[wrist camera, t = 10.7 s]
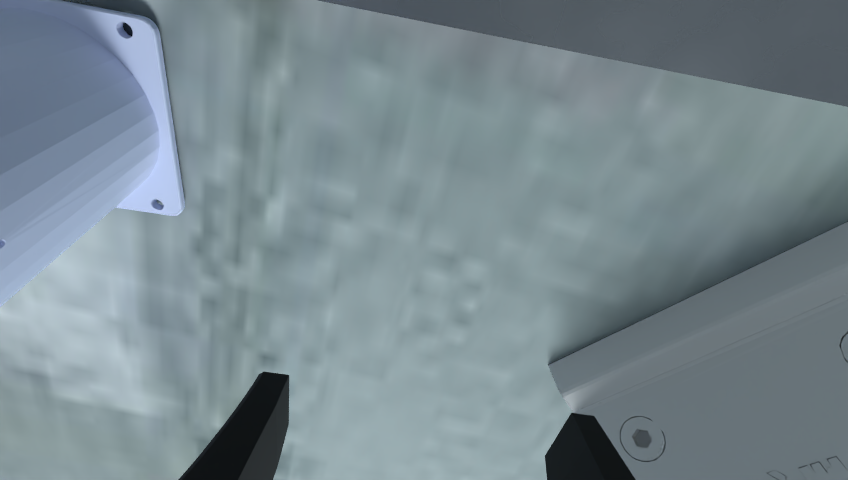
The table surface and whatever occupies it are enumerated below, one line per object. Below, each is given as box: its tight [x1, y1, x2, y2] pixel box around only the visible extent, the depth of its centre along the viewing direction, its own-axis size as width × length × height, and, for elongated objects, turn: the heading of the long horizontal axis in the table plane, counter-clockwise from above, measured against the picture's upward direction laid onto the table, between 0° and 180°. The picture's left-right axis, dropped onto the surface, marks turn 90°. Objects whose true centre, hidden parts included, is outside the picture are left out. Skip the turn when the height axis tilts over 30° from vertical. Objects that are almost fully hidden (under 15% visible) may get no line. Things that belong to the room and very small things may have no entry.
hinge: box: [548, 222, 848, 480], centre depth 21 cm, size 17×5×10 cm, turn 129°
